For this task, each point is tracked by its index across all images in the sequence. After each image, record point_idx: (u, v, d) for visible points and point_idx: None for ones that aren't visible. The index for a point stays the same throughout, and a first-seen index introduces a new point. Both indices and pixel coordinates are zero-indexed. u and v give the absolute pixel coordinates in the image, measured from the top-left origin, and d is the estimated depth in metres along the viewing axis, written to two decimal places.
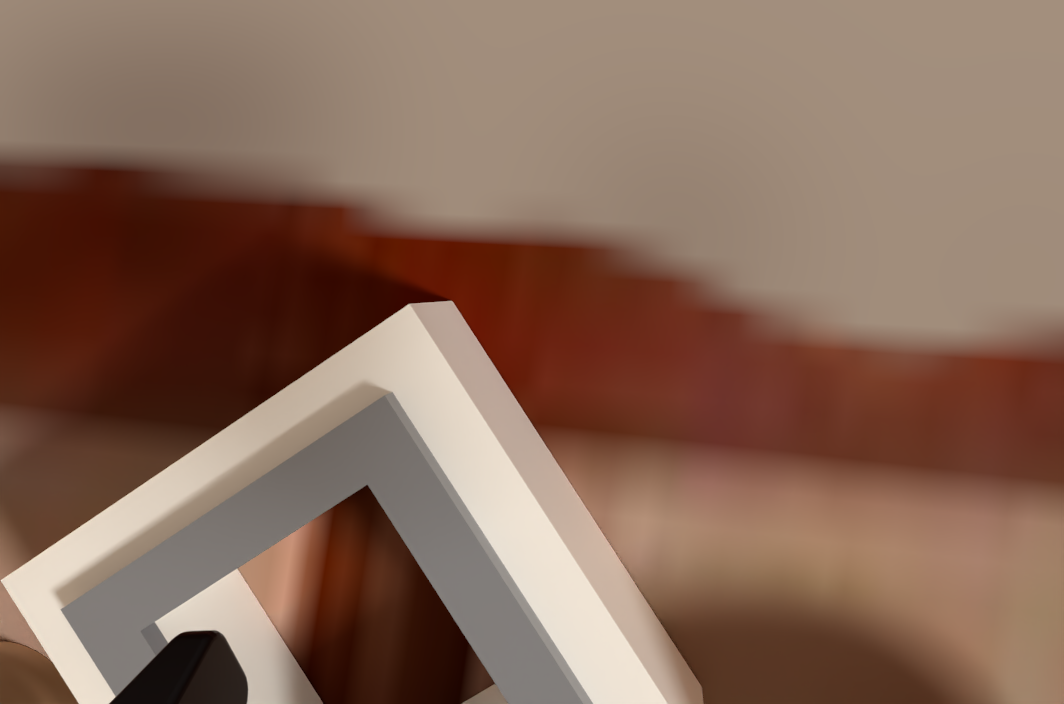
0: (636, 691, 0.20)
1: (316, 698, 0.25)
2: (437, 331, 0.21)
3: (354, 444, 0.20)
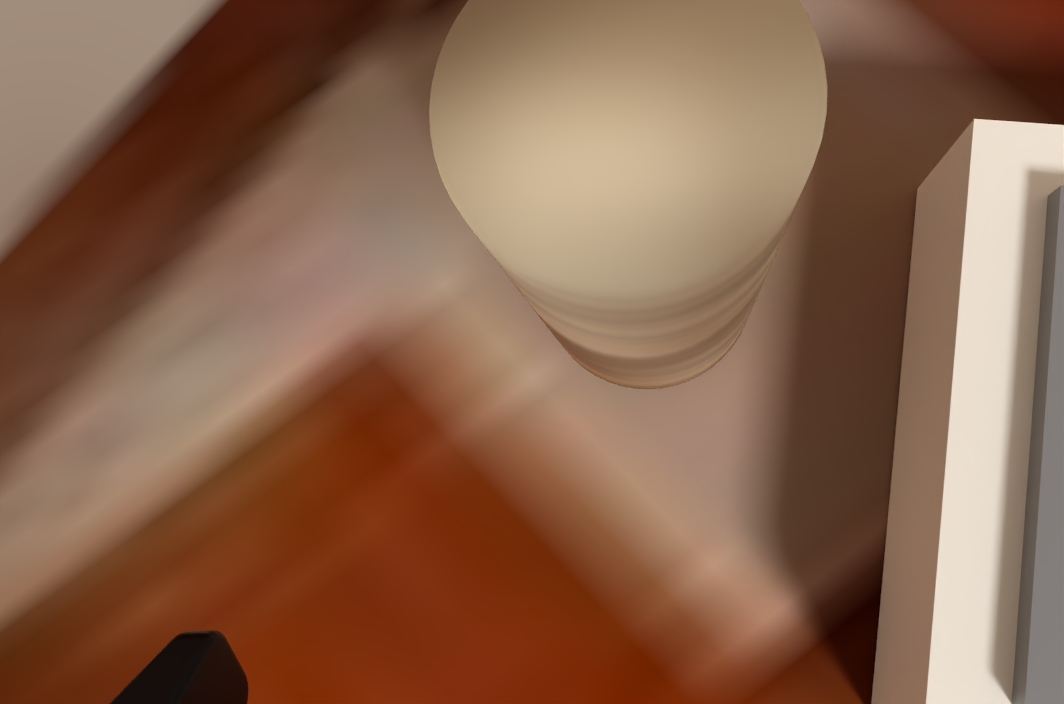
0: None
1: None
2: None
3: None
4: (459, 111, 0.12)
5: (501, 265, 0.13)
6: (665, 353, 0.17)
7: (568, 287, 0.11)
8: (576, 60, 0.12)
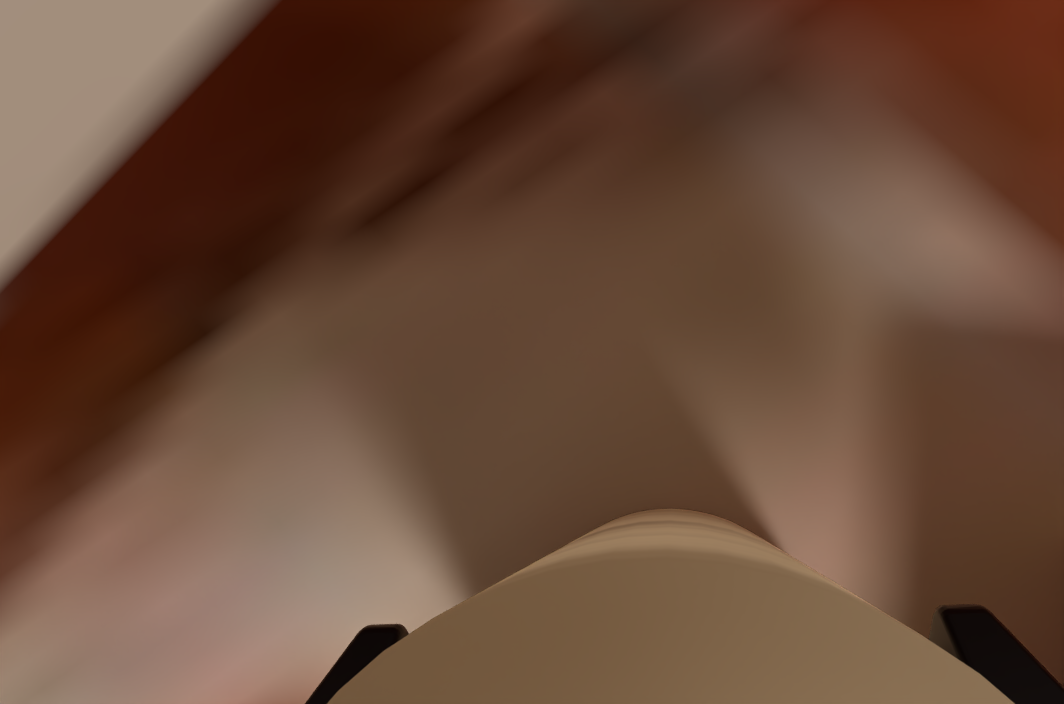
0: None
1: None
2: None
3: None
4: None
5: None
6: None
7: None
8: None
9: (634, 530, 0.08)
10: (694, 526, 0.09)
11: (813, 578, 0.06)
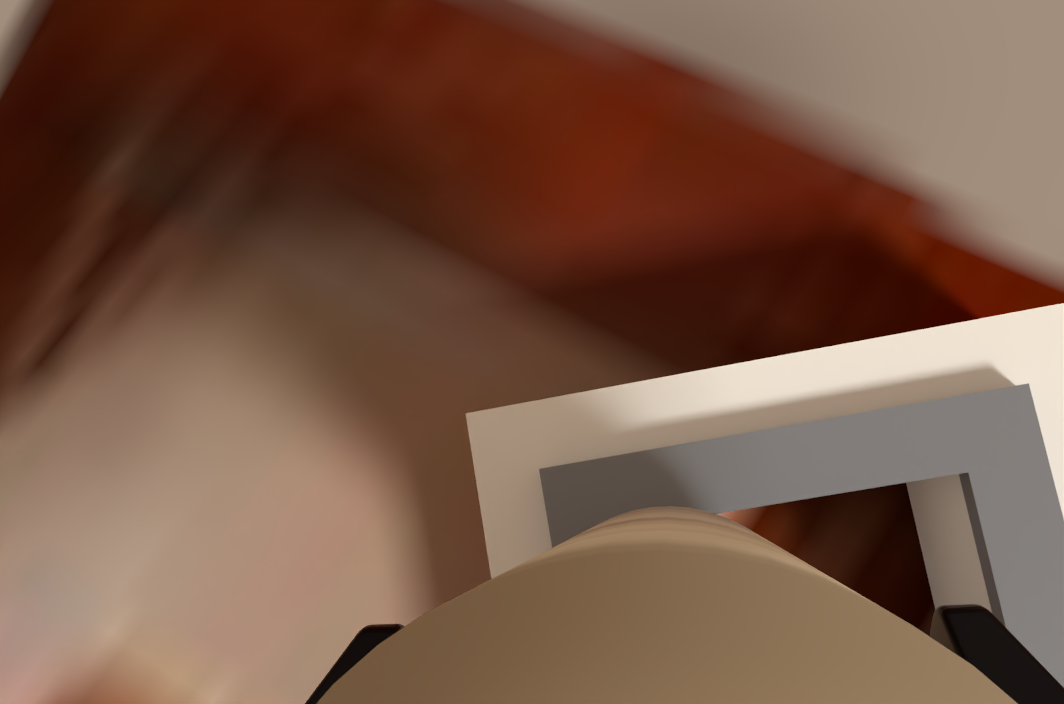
0: None
1: None
2: None
3: (970, 422, 0.17)
4: None
5: None
6: None
7: None
8: None
9: (631, 526, 0.08)
10: (691, 522, 0.09)
11: (808, 571, 0.06)
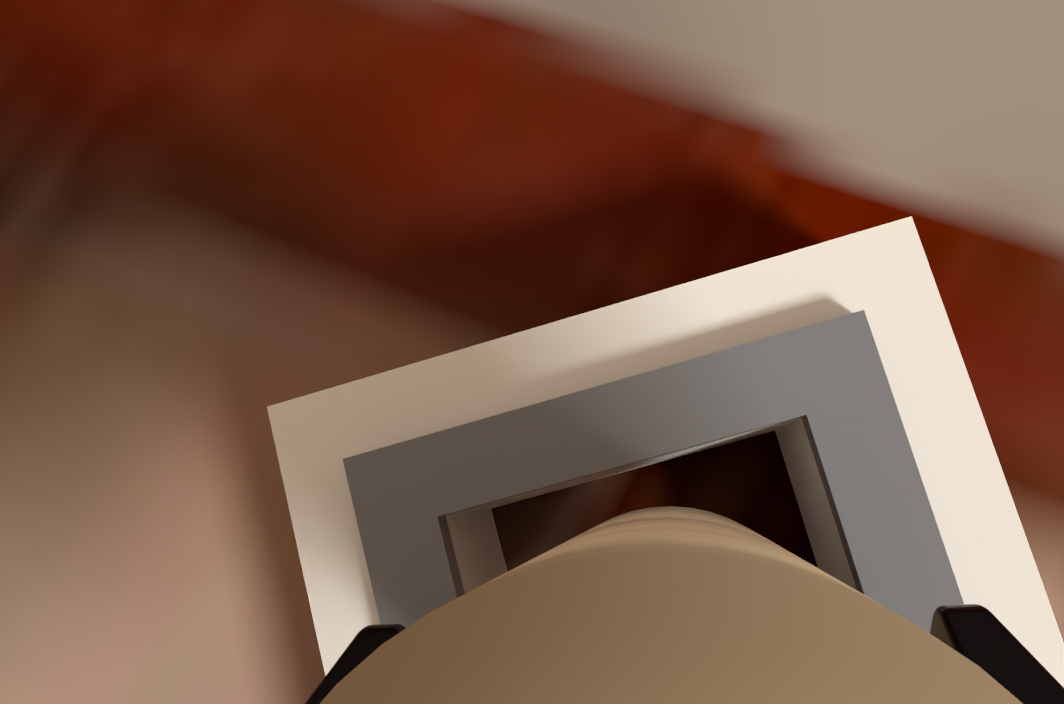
0: None
1: None
2: None
3: (804, 359, 0.15)
4: None
5: None
6: None
7: None
8: None
9: (634, 526, 0.08)
10: (694, 522, 0.09)
11: (812, 572, 0.06)
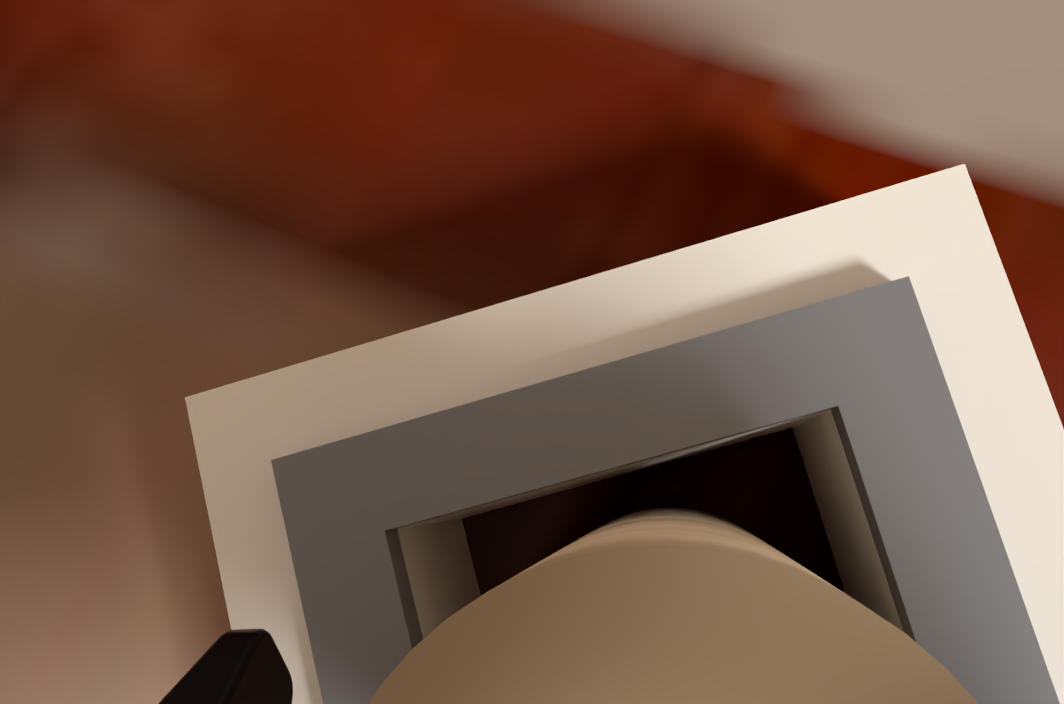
0: None
1: None
2: None
3: (835, 338, 0.12)
4: None
5: None
6: None
7: None
8: None
9: (639, 526, 0.10)
10: (690, 522, 0.11)
11: (784, 562, 0.07)
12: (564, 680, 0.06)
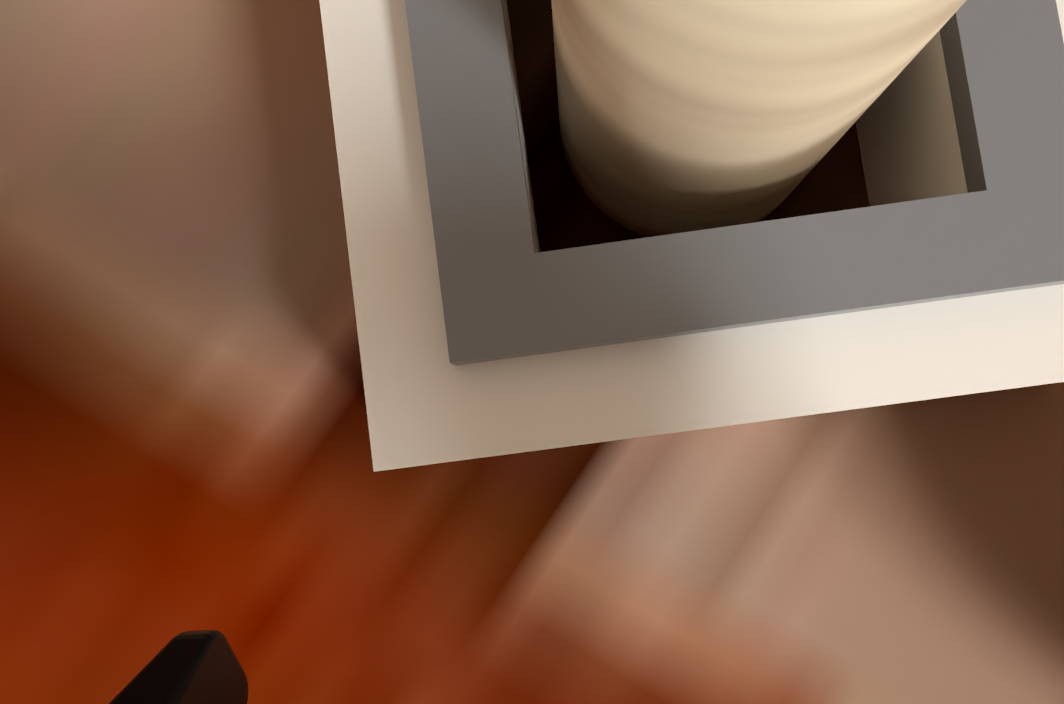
0: None
1: (531, 188, 0.18)
2: None
3: None
4: None
5: None
6: (744, 162, 0.12)
7: None
8: None
9: None
10: None
11: None
12: None
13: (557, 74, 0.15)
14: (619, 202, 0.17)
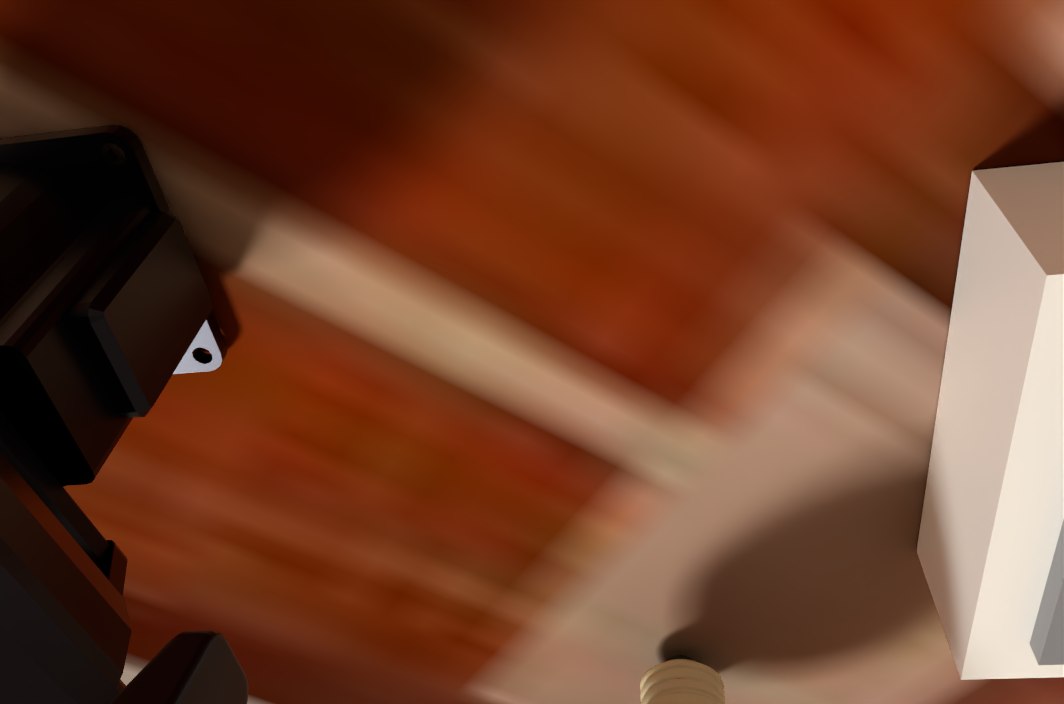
0: (1059, 666, 0.23)
1: None
2: None
3: None
4: None
5: None
6: None
7: None
8: None
9: None
10: None
11: None
12: None
13: None
14: None
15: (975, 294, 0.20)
